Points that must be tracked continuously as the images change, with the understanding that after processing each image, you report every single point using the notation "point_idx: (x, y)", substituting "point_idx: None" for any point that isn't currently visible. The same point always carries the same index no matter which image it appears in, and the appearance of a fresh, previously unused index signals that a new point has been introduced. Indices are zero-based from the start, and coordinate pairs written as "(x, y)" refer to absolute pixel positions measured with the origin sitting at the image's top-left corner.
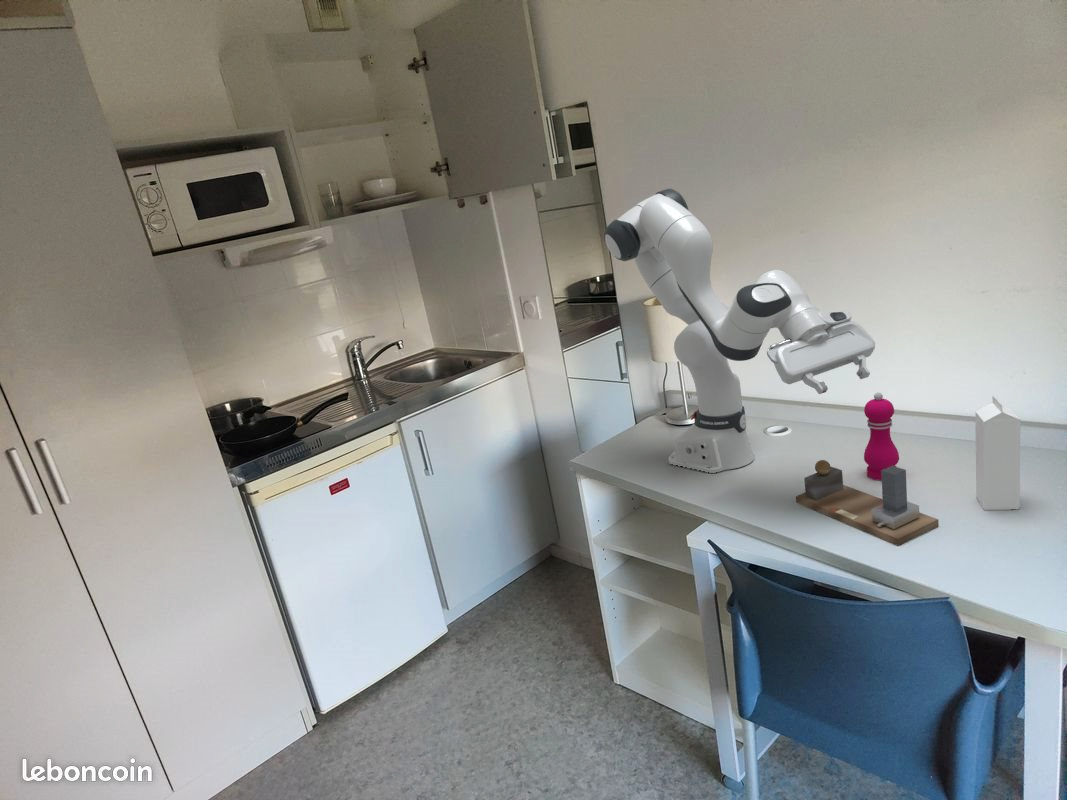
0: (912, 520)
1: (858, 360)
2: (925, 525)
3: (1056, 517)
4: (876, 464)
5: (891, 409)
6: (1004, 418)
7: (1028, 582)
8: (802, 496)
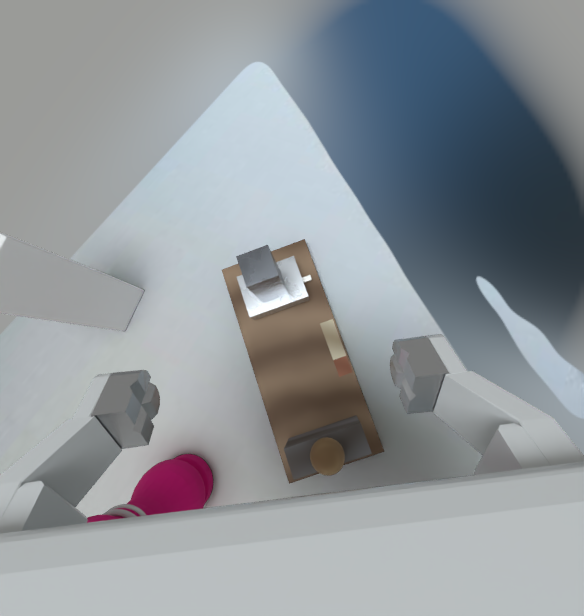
0: None
1: (53, 491)
2: None
3: (89, 239)
4: (196, 472)
5: None
6: None
7: (224, 125)
8: (372, 444)
